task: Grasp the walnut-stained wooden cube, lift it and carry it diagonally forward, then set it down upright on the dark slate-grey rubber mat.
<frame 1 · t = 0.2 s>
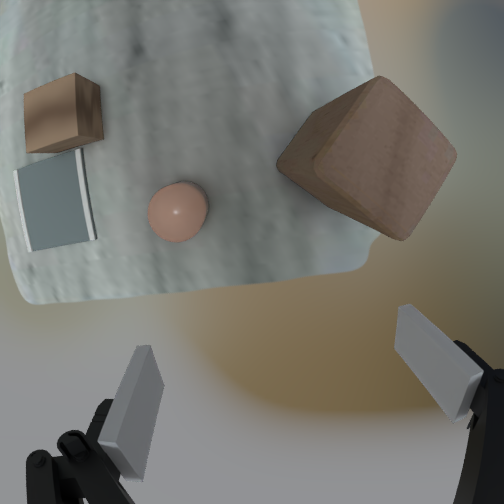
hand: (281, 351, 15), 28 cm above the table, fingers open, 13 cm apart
cube: (77, 119, 35), on the table
pink cylinder: (184, 205, 40), on the table
mat: (52, 202, 38), on the table
wooden block: (323, 158, 40), on the table
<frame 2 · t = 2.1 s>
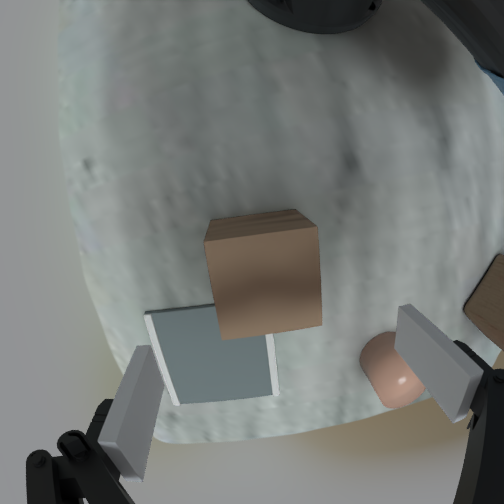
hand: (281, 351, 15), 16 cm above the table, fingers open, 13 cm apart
cube: (258, 254, 30), on the table
pink cylinder: (382, 353, 35), on the table
mat: (216, 356, 33), on the table
wooden block: (491, 295, 34), on the table
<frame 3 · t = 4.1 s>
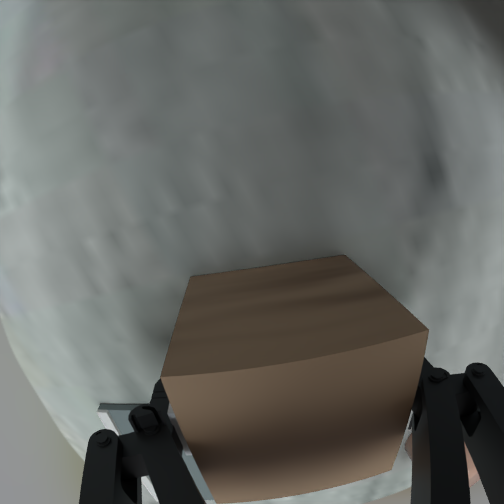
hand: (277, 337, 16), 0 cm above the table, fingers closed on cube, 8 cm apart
cube: (276, 333, 17), on the table, touching gripper
pink cylinder: (434, 431, 22), on the table
mat: (209, 458, 20), on the table
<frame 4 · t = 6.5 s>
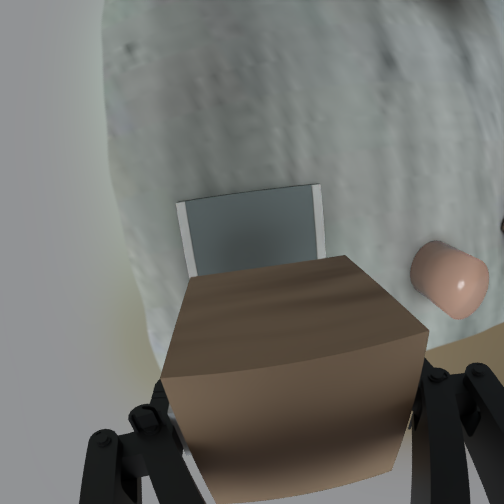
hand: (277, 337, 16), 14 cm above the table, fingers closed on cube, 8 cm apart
cube: (276, 334, 17), point 13 cm above the table, touching gripper
pink cylinder: (432, 267, 31), on the table
mat: (256, 260, 30), on the table
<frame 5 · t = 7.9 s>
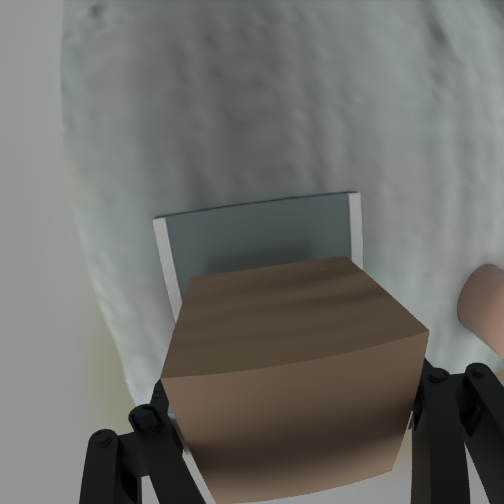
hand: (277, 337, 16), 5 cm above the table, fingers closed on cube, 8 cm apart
cube: (276, 334, 17), point 5 cm above the table, touching gripper
pink cylinder: (480, 296, 23), on the table
mat: (268, 297, 21), on the table
when the fingers open (2 cm above the table, at t = 8.9 s): cube drops 1 cm, resting on mat.
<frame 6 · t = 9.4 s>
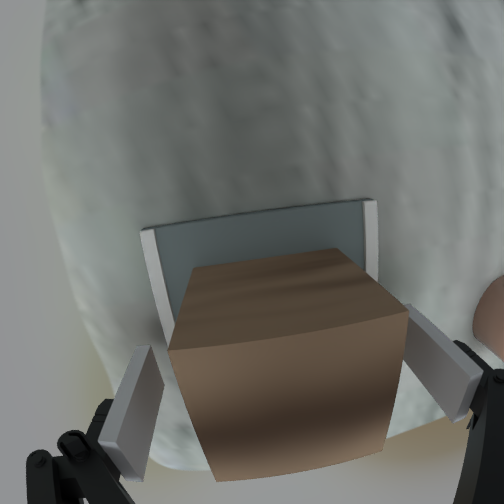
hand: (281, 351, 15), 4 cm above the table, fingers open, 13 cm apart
cube: (273, 322, 18), point 1 cm above the table, touching mat
pink cylinder: (496, 309, 20), on the table
mat: (272, 317, 19), on the table
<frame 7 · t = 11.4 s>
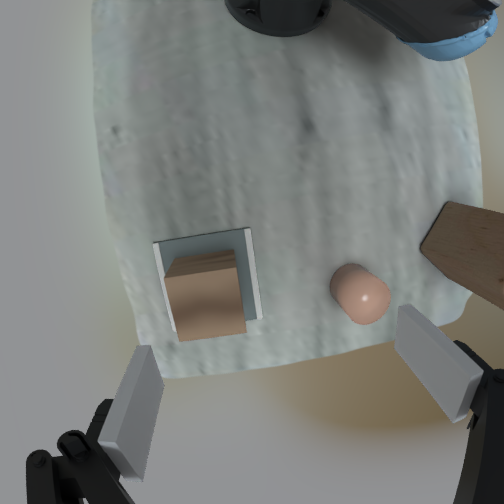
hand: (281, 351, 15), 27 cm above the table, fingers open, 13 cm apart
cube: (209, 282, 42), point 1 cm above the table, touching mat
pink cylinder: (349, 284, 44), on the table
mat: (209, 281, 42), on the table
wooden block: (447, 239, 44), on the table
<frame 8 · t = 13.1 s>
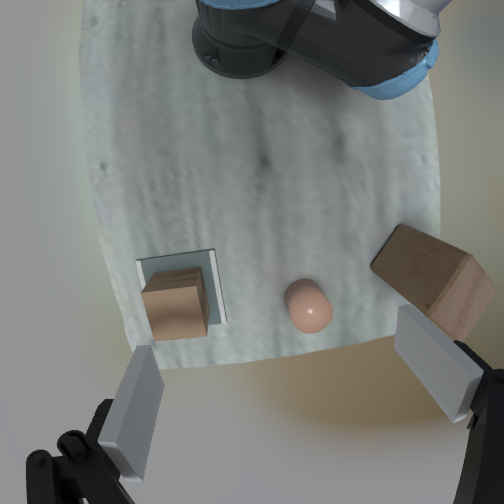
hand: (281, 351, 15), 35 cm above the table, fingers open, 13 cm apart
cube: (181, 292, 50), point 1 cm above the table, touching mat
pink cylinder: (303, 296, 53), on the table
mat: (182, 291, 51), on the table
wooden block: (400, 258, 52), on the table
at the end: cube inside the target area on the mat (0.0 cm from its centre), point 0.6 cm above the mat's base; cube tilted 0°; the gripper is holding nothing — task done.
